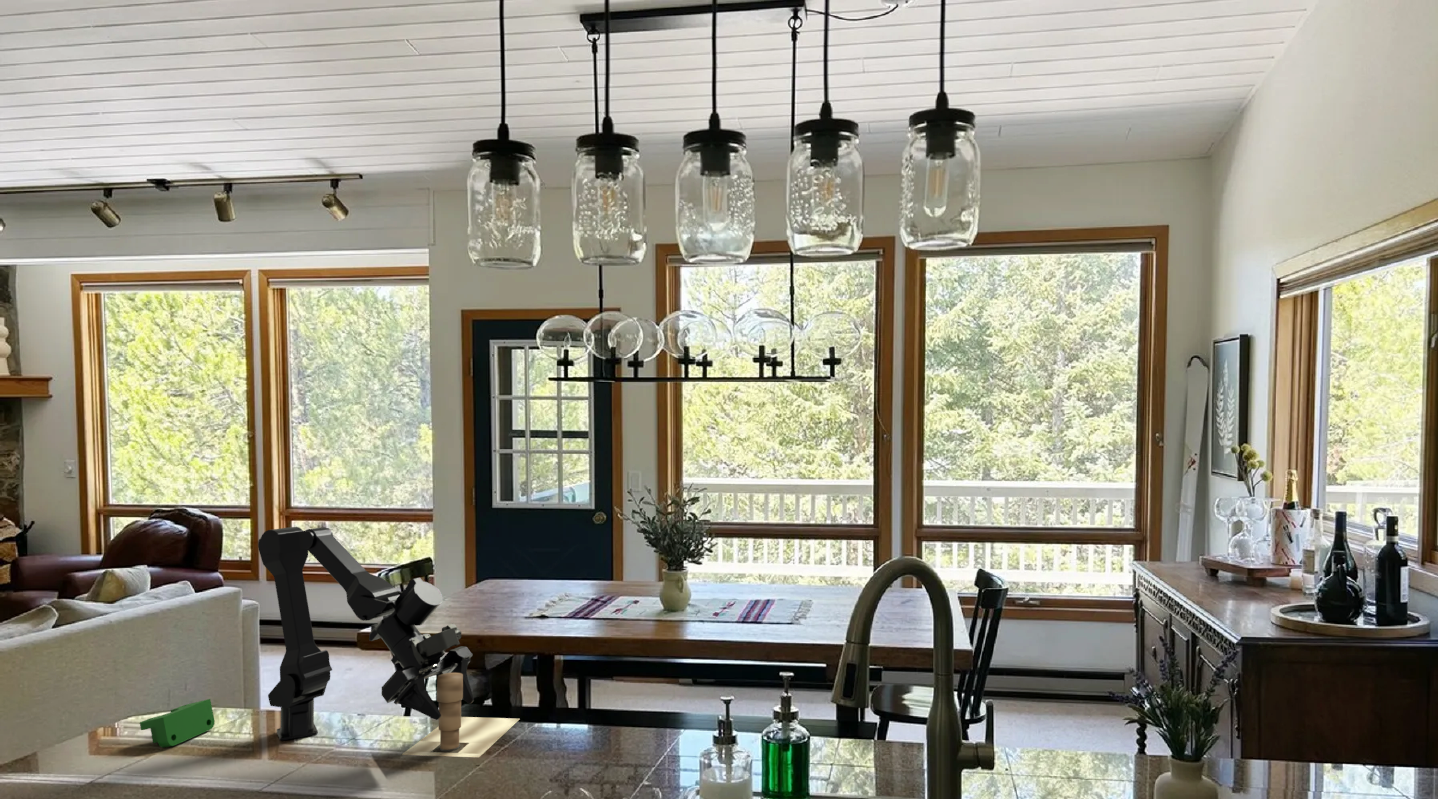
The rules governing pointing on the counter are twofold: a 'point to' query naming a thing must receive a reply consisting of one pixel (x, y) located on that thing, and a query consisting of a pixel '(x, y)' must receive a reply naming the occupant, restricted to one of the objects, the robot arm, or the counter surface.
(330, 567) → the robot arm
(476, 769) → the counter surface
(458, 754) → the board
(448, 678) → the peg
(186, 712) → the green mounting bracket
